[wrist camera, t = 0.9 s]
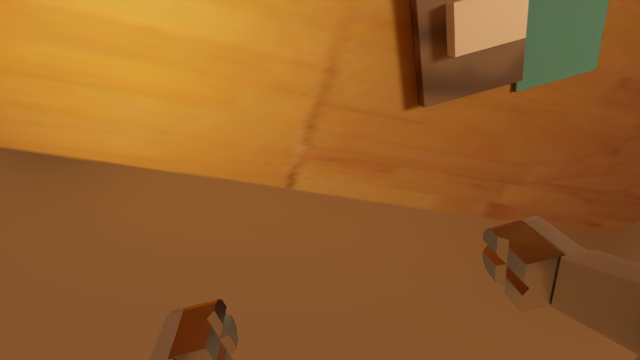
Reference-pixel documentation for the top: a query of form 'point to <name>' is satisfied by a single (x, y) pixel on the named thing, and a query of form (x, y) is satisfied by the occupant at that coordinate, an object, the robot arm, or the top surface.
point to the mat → (561, 40)
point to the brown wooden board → (457, 59)
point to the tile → (484, 24)
